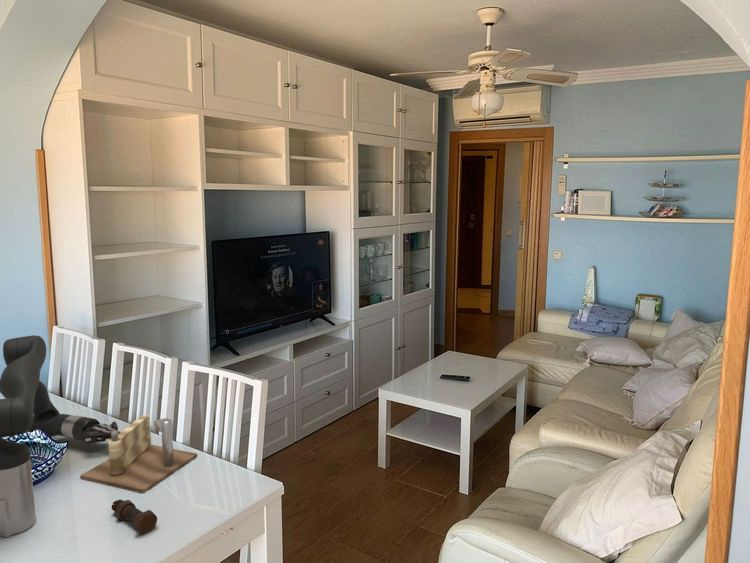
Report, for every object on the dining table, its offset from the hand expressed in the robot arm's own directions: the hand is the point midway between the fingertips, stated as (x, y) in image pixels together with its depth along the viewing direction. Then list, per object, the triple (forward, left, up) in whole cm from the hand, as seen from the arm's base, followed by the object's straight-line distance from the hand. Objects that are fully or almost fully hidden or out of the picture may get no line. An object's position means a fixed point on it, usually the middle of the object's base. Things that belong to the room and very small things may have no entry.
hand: (122, 436), depth 185 cm
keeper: (-1, -17, -5) cm, 18 cm away
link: (-4, -7, -5) cm, 9 cm away
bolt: (-29, -30, -6) cm, 42 cm away
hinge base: (-5, -12, -6) cm, 14 cm away
